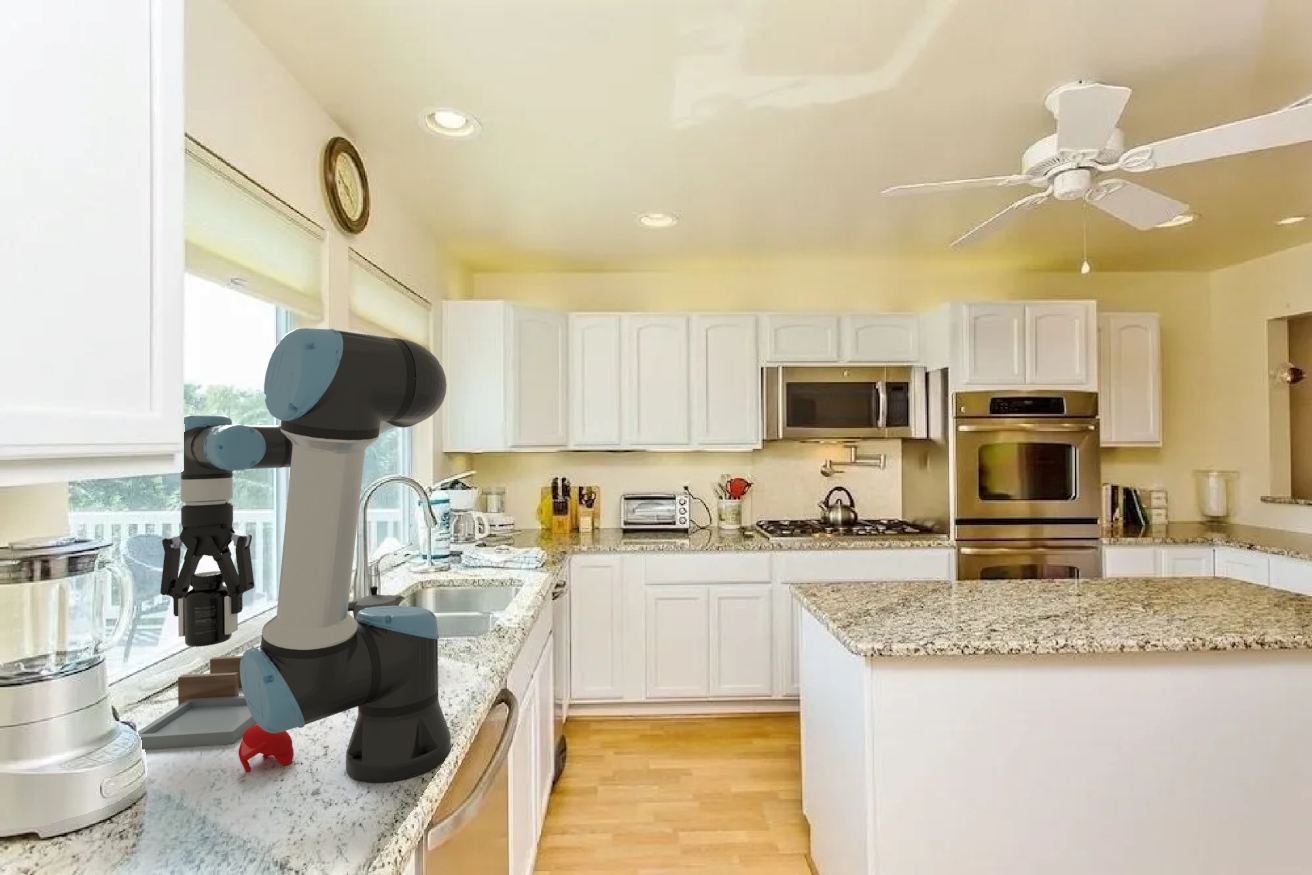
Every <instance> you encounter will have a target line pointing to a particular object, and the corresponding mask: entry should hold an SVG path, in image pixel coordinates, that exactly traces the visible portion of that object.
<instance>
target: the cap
mask: <svg viewBox="0 0 1312 875" xmlns="http://www.w3.org/2000/svg"><path fill="white" fill-rule="evenodd" d="M240 741H241V742H240V743H239V747H238V758H239V761H240V764H241V765H242V767H243V770H244V772H245V773H249V772H250V771H251V770H252V768H251V765H250V763H249V761H248V760H250V759H252V758H254V757H255V756H257V755H258V754H260V755H261V754H262V758H263V759H268V758H270V757H273V758H274V759H275V761H276V762H277V763H278V764H280V765H281V766H284V767H285V766H290V764H291V763H292V762H293V760H294V755H295V754H294V748H293V739H292V737H291V735H290V733H288V732H287V730H286V731H283V732H280V733H269V732H266V731H264V730H263V729H262V728H261V727H259V725H258V724H256V725H254V726H252V727H250V728H248V729H247V730H246V731H245V732H244V734H243V736H242V739H241V740H240Z"/></svg>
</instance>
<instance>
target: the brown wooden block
mask: <svg viewBox="0 0 1312 875" xmlns="http://www.w3.org/2000/svg"><path fill="white" fill-rule="evenodd" d="M242 656H243V655H236V656H234V655H233V656H216V657H211V658H210V659H209V673H201V674H182V675H180V676H178V677H177V698H178V699H177V700H178V701H177V702H178V703H177V704H178V705H177V706H179V705H180V704H182V703H183V702H185V701H186V700H188V699H197V698H215V697H232V696H240V695H239V693H240V692H239V690H240V688H242V685H241V678H240V661H241V658H242Z"/></svg>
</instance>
